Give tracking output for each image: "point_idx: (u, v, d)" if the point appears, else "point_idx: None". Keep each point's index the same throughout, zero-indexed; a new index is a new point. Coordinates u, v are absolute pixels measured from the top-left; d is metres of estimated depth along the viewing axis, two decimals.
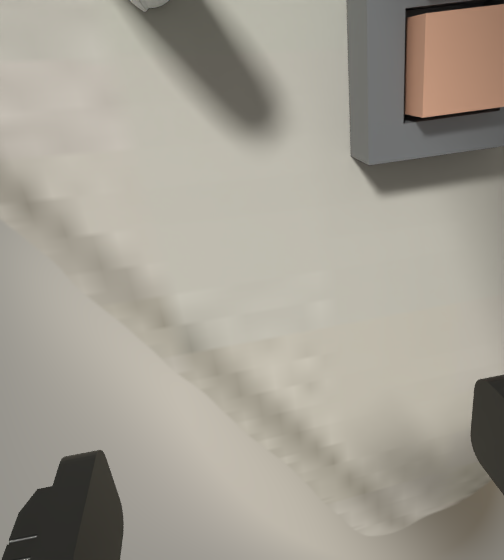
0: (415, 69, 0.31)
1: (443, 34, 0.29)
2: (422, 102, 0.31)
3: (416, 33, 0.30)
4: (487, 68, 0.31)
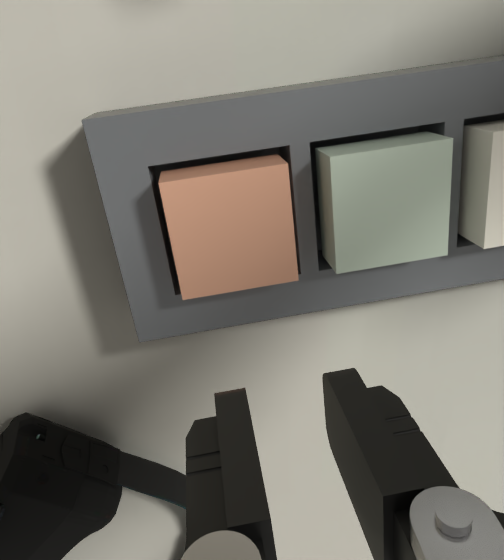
0: (219, 168, 0.23)
1: (264, 192, 0.23)
2: (178, 179, 0.22)
3: (262, 162, 0.23)
4: (226, 259, 0.24)
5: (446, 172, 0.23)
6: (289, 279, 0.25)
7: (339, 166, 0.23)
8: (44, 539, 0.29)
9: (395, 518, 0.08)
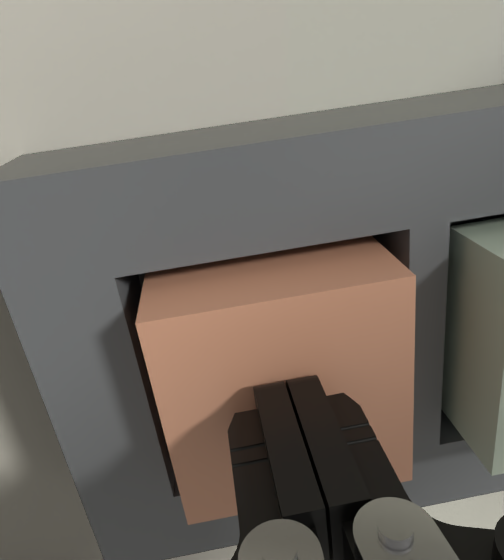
0: (264, 277, 0.11)
1: (361, 333, 0.11)
2: (180, 313, 0.10)
3: (351, 262, 0.11)
4: None
5: None
6: None
7: None
8: None
9: (344, 529, 0.08)
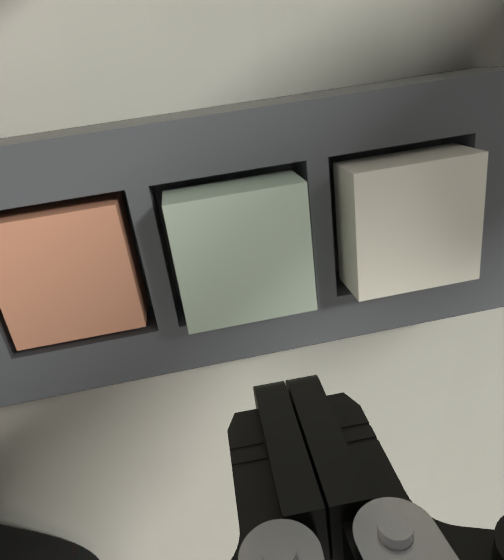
0: (47, 209, 0.21)
1: (93, 235, 0.21)
2: None
3: (95, 201, 0.21)
4: (60, 307, 0.22)
5: (303, 220, 0.20)
6: (135, 325, 0.23)
7: (174, 216, 0.19)
8: None
9: (344, 529, 0.08)
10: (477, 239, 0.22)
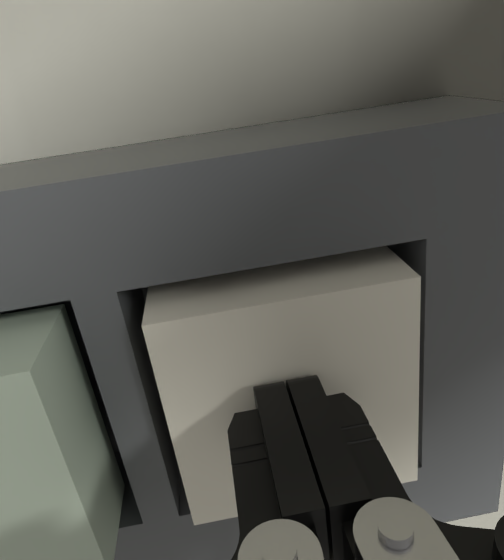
0: None
1: None
2: None
3: None
4: None
5: (41, 440, 0.10)
6: None
7: None
8: None
9: (345, 529, 0.08)
10: (409, 422, 0.12)
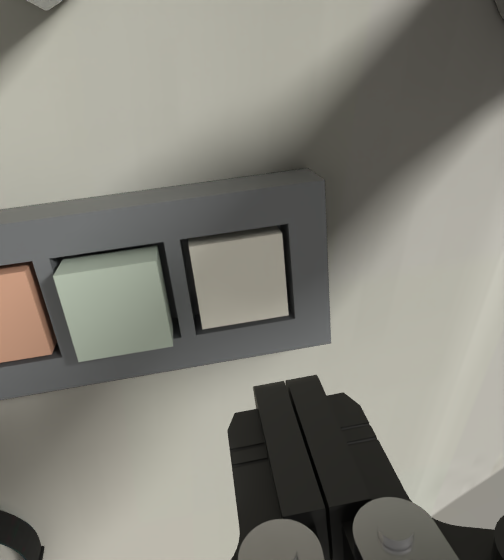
0: None
1: (9, 291, 0.30)
2: None
3: (13, 266, 0.30)
4: None
5: (156, 285, 0.29)
6: (43, 353, 0.32)
7: (62, 282, 0.28)
8: None
9: (345, 529, 0.08)
10: (282, 289, 0.32)
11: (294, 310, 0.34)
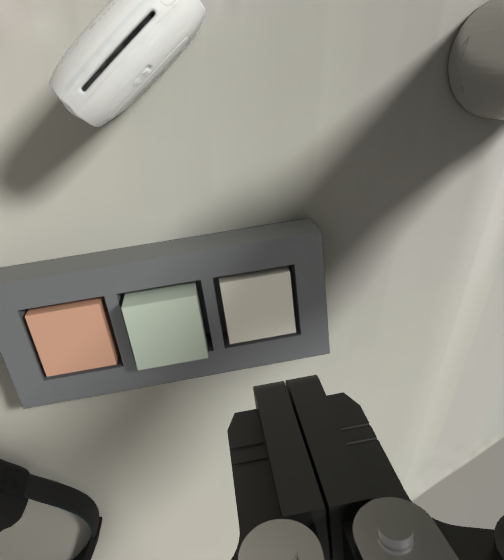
0: (64, 303, 0.40)
1: (87, 318, 0.40)
2: (36, 313, 0.39)
3: (89, 299, 0.40)
4: (70, 354, 0.41)
5: (196, 313, 0.39)
6: (110, 363, 0.42)
7: (128, 312, 0.38)
8: None
9: (344, 528, 0.08)
10: (291, 313, 0.42)
11: (300, 328, 0.43)
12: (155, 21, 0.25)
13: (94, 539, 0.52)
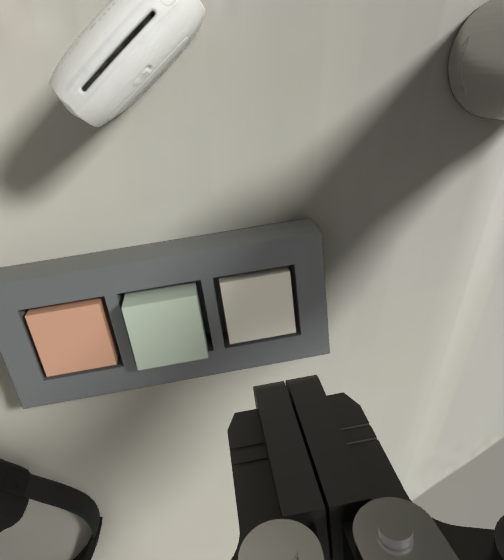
0: (64, 303, 0.40)
1: (87, 318, 0.40)
2: (36, 313, 0.39)
3: (89, 299, 0.40)
4: (70, 354, 0.41)
5: (196, 313, 0.39)
6: (110, 363, 0.42)
7: (128, 312, 0.38)
8: None
9: (344, 529, 0.08)
10: (291, 313, 0.42)
11: (300, 328, 0.43)
12: (155, 21, 0.25)
13: (94, 539, 0.52)
